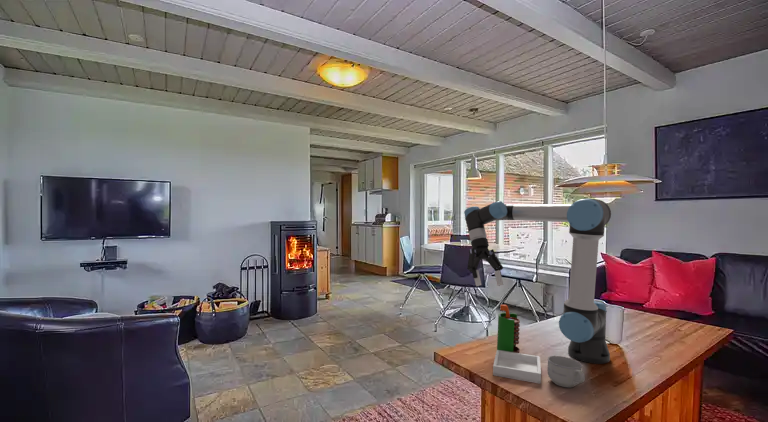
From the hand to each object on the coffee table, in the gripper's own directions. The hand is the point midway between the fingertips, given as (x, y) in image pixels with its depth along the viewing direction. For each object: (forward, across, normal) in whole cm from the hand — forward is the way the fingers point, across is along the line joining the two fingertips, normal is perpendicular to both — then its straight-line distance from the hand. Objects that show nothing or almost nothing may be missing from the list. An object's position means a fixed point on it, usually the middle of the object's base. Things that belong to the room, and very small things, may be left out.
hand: (489, 285), depth 163 cm
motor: (+28, -3, -2) cm, 29 cm away
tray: (+34, +7, +9) cm, 36 cm away
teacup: (+41, +2, +24) cm, 47 cm away
